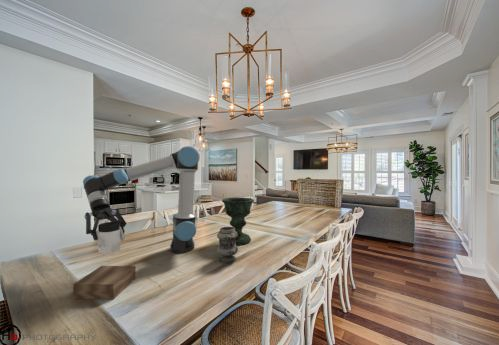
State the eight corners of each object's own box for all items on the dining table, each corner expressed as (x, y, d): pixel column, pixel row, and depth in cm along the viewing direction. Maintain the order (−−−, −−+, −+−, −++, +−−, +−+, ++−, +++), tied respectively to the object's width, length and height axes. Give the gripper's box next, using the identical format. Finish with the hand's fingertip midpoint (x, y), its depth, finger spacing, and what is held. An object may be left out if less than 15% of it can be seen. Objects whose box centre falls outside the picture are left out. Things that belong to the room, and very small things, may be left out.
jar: (93, 254, 93) (93, 226, 92) (102, 247, 101) (102, 221, 100) (116, 253, 94) (116, 226, 94) (123, 246, 102) (123, 221, 102)
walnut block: (135, 278, 101) (135, 265, 101) (113, 299, 85) (113, 284, 85) (101, 278, 101) (101, 265, 101) (73, 299, 85) (73, 284, 85)
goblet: (257, 245, 146) (257, 201, 145) (224, 248, 140) (224, 202, 140) (249, 235, 167) (249, 196, 166) (220, 237, 162) (220, 197, 161)
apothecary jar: (224, 253, 131) (224, 224, 130) (241, 257, 125) (241, 226, 125) (212, 261, 120) (212, 229, 120) (231, 265, 115) (231, 232, 114)
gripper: (120, 204, 115) (134, 241, 105) (69, 210, 98) (81, 254, 89) (124, 195, 111) (139, 232, 102) (73, 200, 94) (85, 244, 85)
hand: (112, 242), depth 95 cm, fingers closed on jar, 8 cm apart
